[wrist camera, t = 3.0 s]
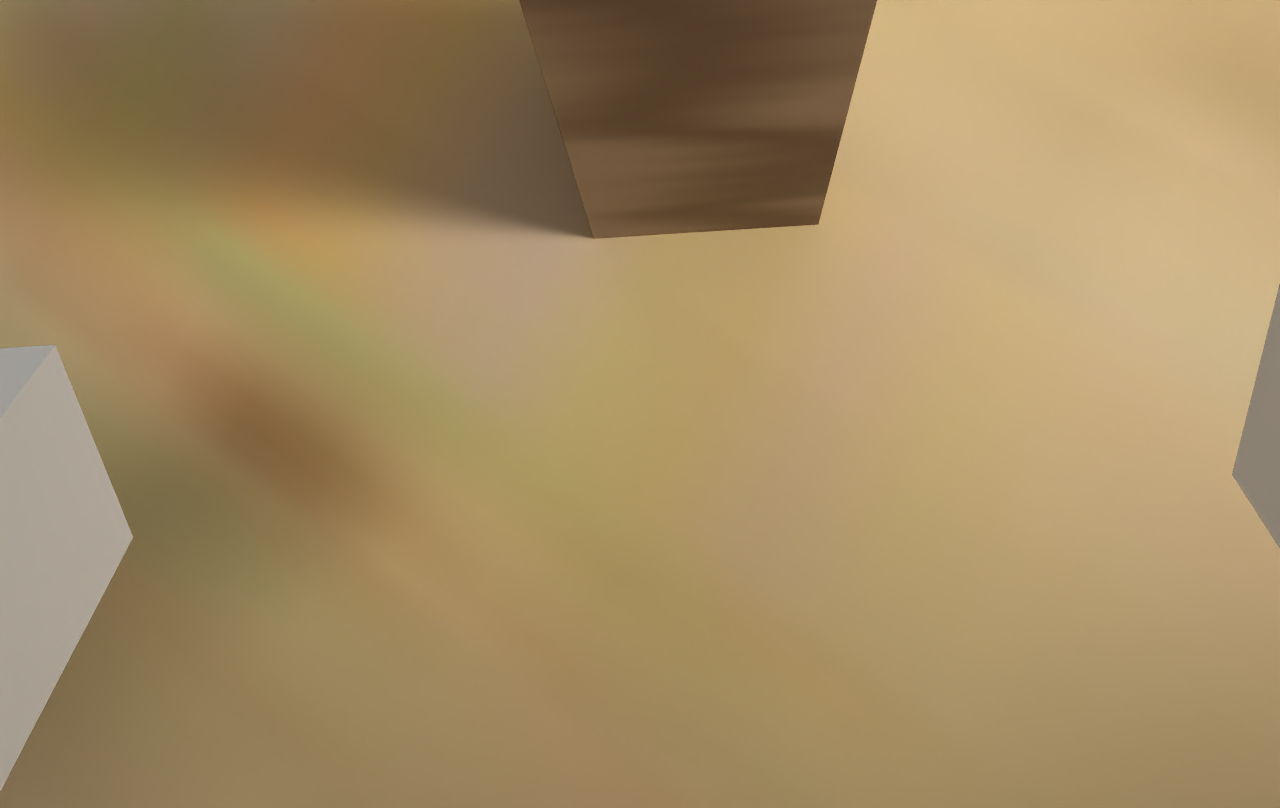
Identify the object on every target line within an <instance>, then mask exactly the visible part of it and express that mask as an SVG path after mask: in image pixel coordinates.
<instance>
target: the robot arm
mask: <svg viewBox="0 0 1280 808" xmlns="http://www.w3.org/2000/svg"><path fill="white" fill-rule="evenodd" d="M1232 475H1233V477H1234V478H1235V480H1236V481H1237V483H1238V484H1239V486H1240V487H1241V489H1242V491H1243V492H1244V494H1245V495H1246V497H1247V498H1248V500H1249V501H1250V503H1251V505H1252V506H1253V508H1254V509H1255V511H1256V512H1257V514H1258V515H1259V517H1260V518H1261V520H1262V522H1263V523H1264V525H1265V526H1266V528H1267V529H1268V531H1269V532H1270V534H1271V536H1272V537H1273V539H1274V540H1275V542H1276V543H1277V545H1278V546H1279V548H1280V285H1279V289H1278V293H1277V297H1276V301H1275V305H1274V309H1273V313H1272V317H1271V321H1270V325H1269V329H1268V333H1267V337H1266V341H1265V345H1264V349H1263V353H1262V357H1261V361H1260V365H1259V369H1258V373H1257V377H1256V381H1255V385H1254V389H1253V393H1252V397H1251V401H1250V405H1249V409H1248V413H1247V417H1246V421H1245V425H1244V429H1243V433H1242V437H1241V441H1240V445H1239V449H1238V453H1237V457H1236V461H1235V465H1234V469H1233V473H1232ZM132 539H133V536H132V533H131V531H130V528H129V526H128V523H127V521H126V518H125V516H124V513H123V511H122V508H121V506H120V504H119V501H118V499H117V496H116V494H115V491H114V489H113V486H112V484H111V481H110V479H109V476H108V474H107V471H106V469H105V467H104V464H103V462H102V459H101V457H100V454H99V452H98V449H97V447H96V444H95V442H94V439H93V437H92V434H91V432H90V429H89V427H88V425H87V422H86V420H85V417H84V415H83V412H82V410H81V407H80V405H79V402H78V400H77V397H76V395H75V392H74V390H73V388H72V385H71V383H70V380H69V378H68V375H67V373H66V370H65V368H64V365H63V363H62V360H61V358H60V355H59V353H58V351H57V348H56V346H55V345H45V346H29V347H14V348H0V791H1V789H2V787H3V785H4V783H5V782H6V780H7V778H8V776H9V774H10V772H11V770H12V768H13V766H14V764H15V762H16V761H17V759H18V757H19V755H20V753H21V751H22V749H23V747H24V745H25V743H26V741H27V739H28V738H29V736H30V734H31V732H32V730H33V728H34V726H35V724H36V722H37V720H38V718H39V717H40V715H41V713H42V711H43V709H44V707H45V705H46V703H47V701H48V699H49V697H50V695H51V694H52V692H53V690H54V688H55V686H56V684H57V682H58V680H59V678H60V676H61V674H62V673H63V671H64V669H65V667H66V665H67V663H68V661H69V659H70V657H71V655H72V653H73V651H74V650H75V648H76V646H77V644H78V642H79V640H80V638H81V636H82V634H83V632H84V630H85V629H86V627H87V625H88V623H89V621H90V619H91V617H92V615H93V613H94V611H95V609H96V607H97V606H98V604H99V602H100V600H101V598H102V596H103V594H104V592H105V590H106V588H107V586H108V585H109V583H110V581H111V579H112V577H113V575H114V573H115V571H116V569H117V567H118V565H119V563H120V562H121V560H122V558H123V556H124V554H125V552H126V550H127V548H128V546H129V544H130V542H131V541H132Z"/></svg>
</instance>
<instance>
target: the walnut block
mask: <svg viewBox="0 0 1280 808" xmlns="http://www.w3.org/2000/svg"><path fill="white" fill-rule="evenodd" d="M876 2H877V0H520V3H521V6H522V10H523V13H524V16H525V19H526V23H527V26H528V29H529V32H530V35H531V39H532V42H533V45H534V48H535V51H536V55H537V58H538V61H539V64H540V67H541V71H542V74H543V77H544V80H545V83H546V87H547V90H548V93H549V96H550V99H551V103H552V106H553V109H554V112H555V116H556V119H557V122H558V125H559V128H560V132H561V135H562V138H563V141H564V144H565V148H566V151H567V154H568V157H569V160H570V164H571V167H572V170H573V173H574V176H575V180H576V183H577V186H578V189H579V192H580V196H581V199H582V202H583V205H584V209H585V212H586V215H587V218H588V221H589V225H590V228H591V231H592V234H593V237H594V238H608V237H624V236H640V235H656V234H672V233H688V232H704V231H720V230H735V229H751V228H767V227H783V226H799V225H815V224H818V223H819V219H820V216H821V212H822V208H823V204H824V200H825V196H826V193H827V189H828V185H829V181H830V177H831V174H832V170H833V166H834V162H835V158H836V155H837V151H838V147H839V143H840V139H841V135H842V132H843V128H844V124H845V120H846V116H847V113H848V109H849V105H850V101H851V97H852V94H853V90H854V86H855V82H856V78H857V74H858V71H859V67H860V63H861V59H862V55H863V52H864V48H865V44H866V40H867V36H868V33H869V29H870V25H871V21H872V17H873V14H874V10H875V6H876Z"/></svg>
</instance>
